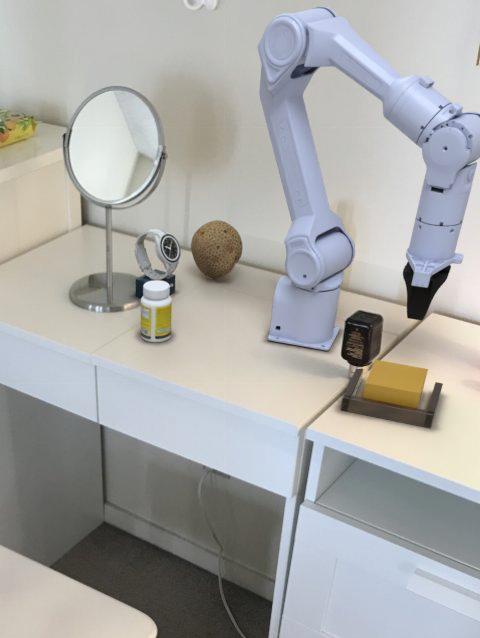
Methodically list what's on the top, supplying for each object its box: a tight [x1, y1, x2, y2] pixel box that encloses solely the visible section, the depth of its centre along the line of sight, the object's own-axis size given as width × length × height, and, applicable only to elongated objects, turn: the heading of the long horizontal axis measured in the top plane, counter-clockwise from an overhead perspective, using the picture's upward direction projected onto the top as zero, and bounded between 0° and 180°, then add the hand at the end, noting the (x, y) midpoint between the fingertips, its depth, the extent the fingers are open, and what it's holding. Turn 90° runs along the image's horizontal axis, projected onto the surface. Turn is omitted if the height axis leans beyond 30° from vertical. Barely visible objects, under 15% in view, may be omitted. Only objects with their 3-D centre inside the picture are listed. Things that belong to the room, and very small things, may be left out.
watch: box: [134, 227, 182, 299], centre depth 137 cm, size 6×8×11 cm
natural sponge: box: [190, 219, 243, 280], centre depth 143 cm, size 9×9×10 cm
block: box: [361, 359, 429, 409], centre depth 110 cm, size 7×7×4 cm
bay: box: [340, 368, 444, 429], centre depth 110 cm, size 12×9×2 cm
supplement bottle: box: [140, 280, 173, 343], centre depth 125 cm, size 5×5×8 cm
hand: (415, 317), depth 113 cm, fingers closed
